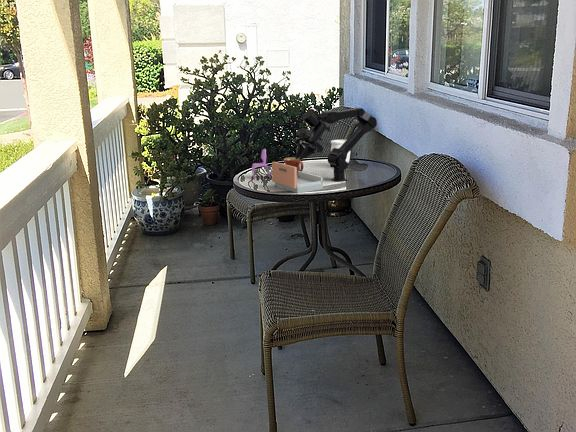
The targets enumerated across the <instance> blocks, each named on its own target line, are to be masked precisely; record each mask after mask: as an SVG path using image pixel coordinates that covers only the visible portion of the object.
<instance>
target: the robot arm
mask: <svg viewBox="0 0 576 432" xmlns="http://www.w3.org/2000/svg"><path fill="white" fill-rule="evenodd" d="M351 118H356V121H358V123H357V128H356V129H355V130H354V131H353V132H352V133H351V134H350V136H349V137H348V138H347V139H345V140H346V141H345V142H344V143H343V145H342V146H341V147H340V148H338V149H337V148H333V149H332V151H331V150H330V152H329V153H328V156H327V162H328V164H329V167H330V168H333V177H332V178H331V180H333V181H334V182H342V181H344V182H345V181H346V182H347V181H348V178H346V169H349V167H348V166H349V165H350V164H349V163H347V162H346V161H345V160H346V158H347V154H348V152H349V151H350V152H351V151H352V149H353V148H354V147H355V146H356V145H357V143H358V142H359V141H361V139H362V138H363V137H364V136H365V134H367V133H370V132H371V131H372V130H374V129H375V128H376V127H377V126H378V123H377V121H378V120H377V118H376V117H375V116H372V114H370V113H368V111H366V110H365V109H364V108H362V107H355V108H350V109H343V110H338V111H331V110H329V111H328V110H327V111H326V110H324V111H321V112H320V113H317V112H316V111H315V109H313V108H309V110H307V111H306V112H305V113H303V114H302V117H301V119H302V120H303V122H304V123H306V124H307V125H308V126H309V127H310V128H312V127H313V128H312V129H309V128H305V129H301V128H298V129H297V132H296V135H295V136H297V137H295V138H294V139H293V141H292V142H293V143H294V144H295V145H296V146H297V147H298V148H297V150H296V154H295V156H294V157H295V158H296V159H298V158H299V159H300V161H302V160H304V159H306V158H307V157H309V156H311V155H313V154H315V153H319V154H321V153H323V151H324V146H322V144H321V143H320V142H321V141H322V140H323V139H322V137H323V135H324V133H325V132H328V133H330V132H331V127H330V125H332V124H335V123H338V122H339V121H341V120H345V119H351ZM327 124H328V125H327ZM329 124H330V125H329ZM319 141H320V142H319ZM316 151H317V152H316Z"/></svg>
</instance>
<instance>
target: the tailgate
mask: <svg viewBox="0 0 576 432" xmlns="http://www.w3.org/2000/svg"><path fill="white" fill-rule="evenodd" d="M271 165H272V166H271V167H272V168H271V169H272V170H271V173H272V174H271V175H272V176H271V179H272V180H271V182H273V183H275V182H276V183H279V184H282V185H286V186H289V187H292V188H297V167H294V166H290V165H286V164H285V163H281V162H277V161H272V162H271Z"/></svg>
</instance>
